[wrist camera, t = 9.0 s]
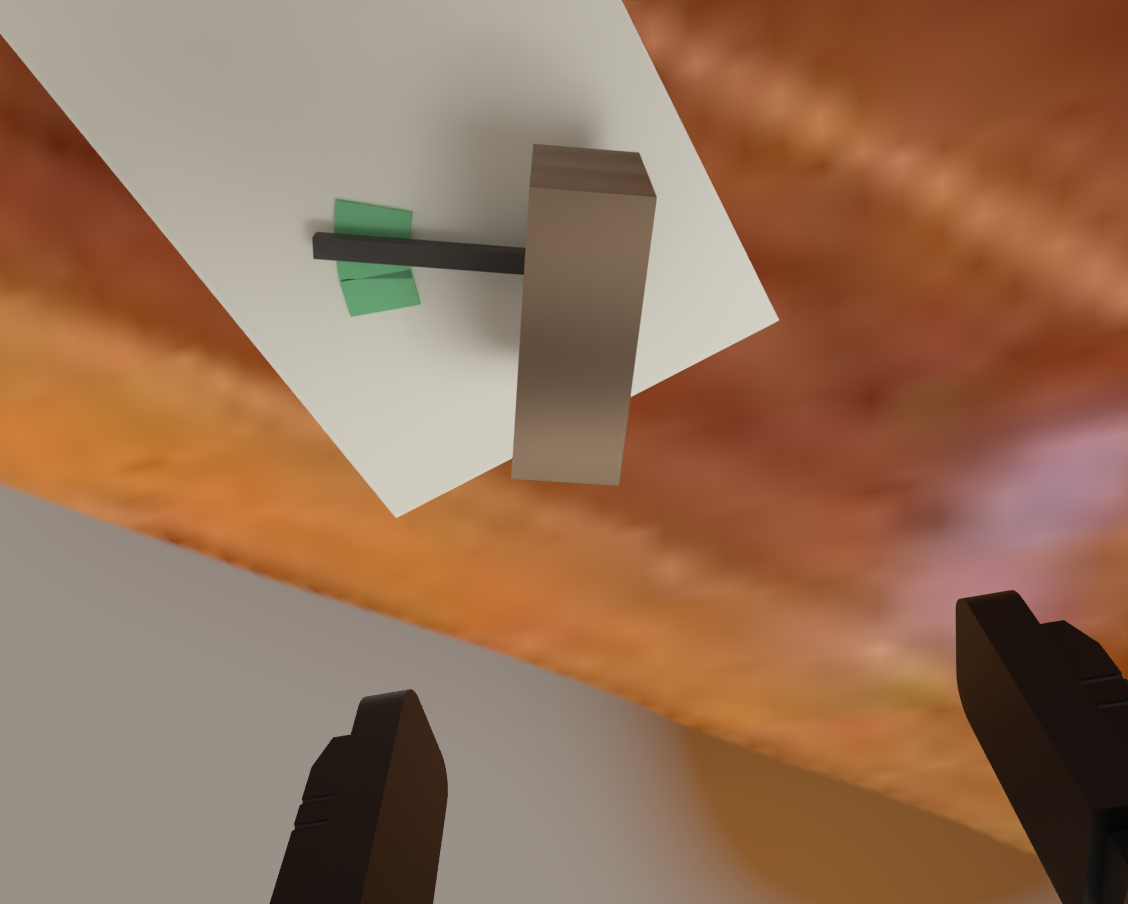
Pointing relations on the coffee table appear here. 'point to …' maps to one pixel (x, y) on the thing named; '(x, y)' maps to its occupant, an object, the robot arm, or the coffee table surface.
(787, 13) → the coffee table surface
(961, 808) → the coffee table surface
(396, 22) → the dial plate
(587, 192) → the wooden toy mallet
